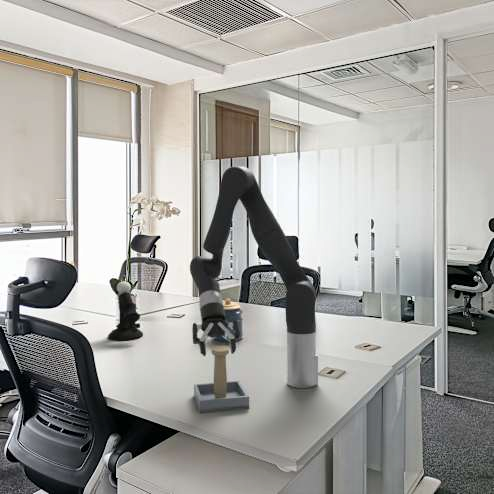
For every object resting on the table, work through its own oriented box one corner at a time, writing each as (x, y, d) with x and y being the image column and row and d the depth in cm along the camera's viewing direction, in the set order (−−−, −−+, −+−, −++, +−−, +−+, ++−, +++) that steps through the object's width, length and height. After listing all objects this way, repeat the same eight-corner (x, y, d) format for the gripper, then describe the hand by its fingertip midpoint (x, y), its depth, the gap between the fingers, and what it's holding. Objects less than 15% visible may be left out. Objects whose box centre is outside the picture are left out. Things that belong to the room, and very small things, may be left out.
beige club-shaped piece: (227, 393, 153) (226, 344, 152) (229, 401, 147) (229, 351, 146) (211, 394, 152) (210, 345, 151) (213, 403, 146) (213, 351, 145)
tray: (239, 391, 158) (239, 380, 158) (249, 408, 144) (249, 396, 144) (194, 395, 155) (193, 384, 155) (200, 413, 141) (199, 401, 141)
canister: (209, 341, 220) (208, 300, 218) (219, 334, 232) (218, 295, 231) (237, 343, 216) (237, 301, 215) (246, 335, 228) (246, 296, 227)
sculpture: (137, 331, 239) (136, 278, 238) (153, 342, 219) (151, 284, 217) (104, 335, 232) (102, 280, 230) (117, 347, 211) (116, 287, 210)
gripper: (190, 302, 157) (195, 349, 146) (235, 300, 160) (244, 345, 150) (188, 316, 162) (194, 361, 152) (232, 313, 166) (240, 357, 155)
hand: (218, 353), depth 151 cm, fingers open, 8 cm apart
